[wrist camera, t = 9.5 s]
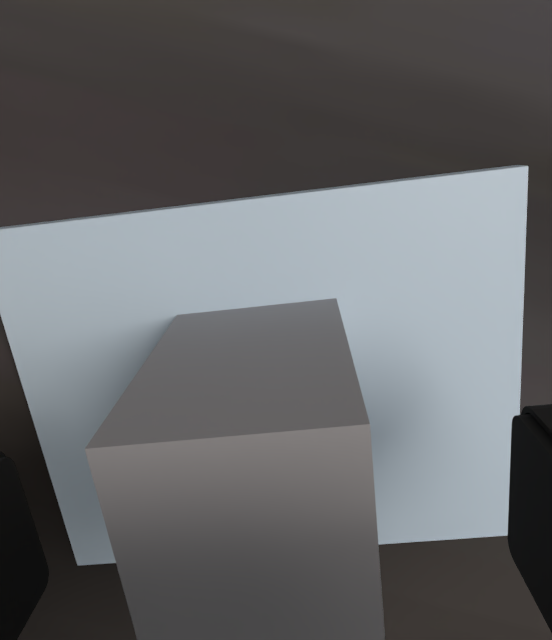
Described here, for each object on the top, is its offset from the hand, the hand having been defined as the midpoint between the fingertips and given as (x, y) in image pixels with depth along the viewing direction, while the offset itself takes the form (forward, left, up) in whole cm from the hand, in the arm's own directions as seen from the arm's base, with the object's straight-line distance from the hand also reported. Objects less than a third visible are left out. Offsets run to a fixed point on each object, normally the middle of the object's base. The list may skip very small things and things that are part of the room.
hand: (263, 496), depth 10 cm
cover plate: (0, 0, -5) cm, 5 cm away
